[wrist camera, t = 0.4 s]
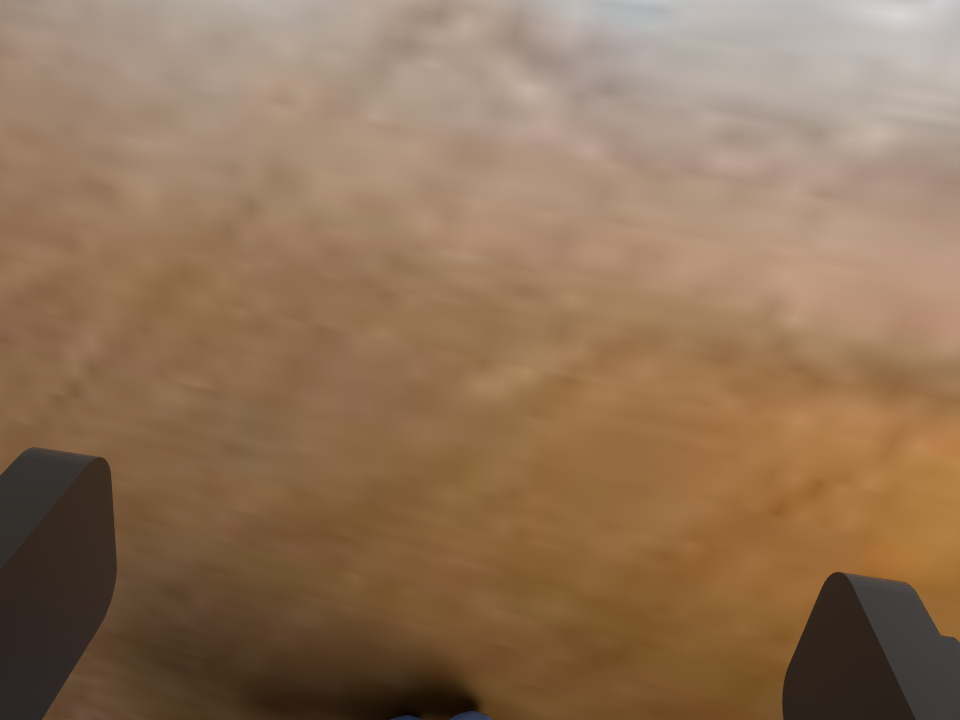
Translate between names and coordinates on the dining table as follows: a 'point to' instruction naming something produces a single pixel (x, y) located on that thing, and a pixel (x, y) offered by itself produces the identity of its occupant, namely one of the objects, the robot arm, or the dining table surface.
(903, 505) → the dining table surface
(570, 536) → the dining table surface
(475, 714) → the grapes
